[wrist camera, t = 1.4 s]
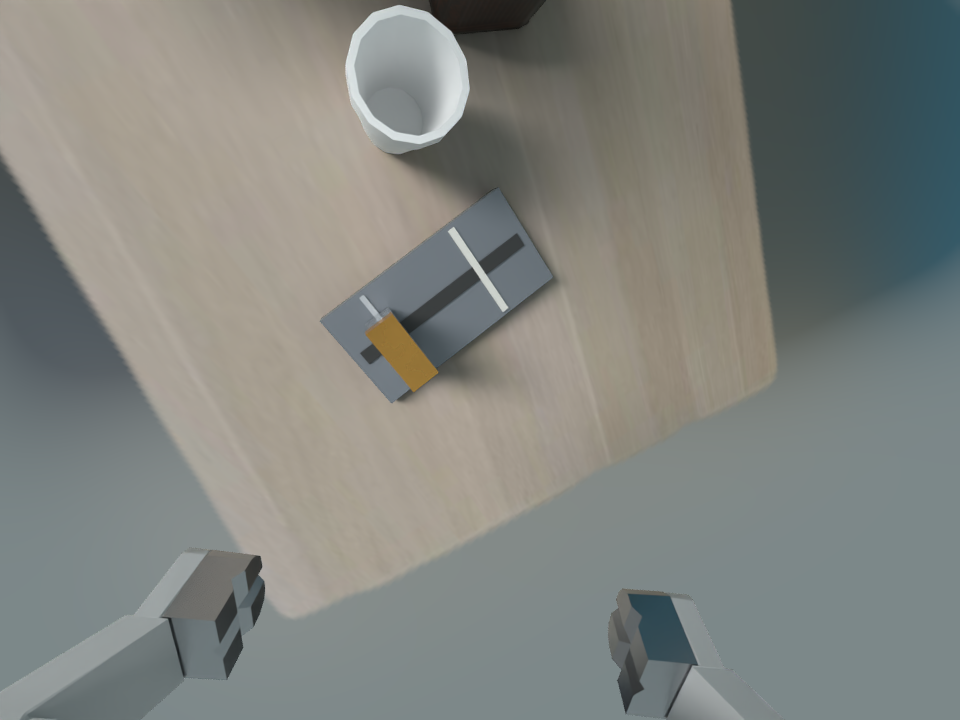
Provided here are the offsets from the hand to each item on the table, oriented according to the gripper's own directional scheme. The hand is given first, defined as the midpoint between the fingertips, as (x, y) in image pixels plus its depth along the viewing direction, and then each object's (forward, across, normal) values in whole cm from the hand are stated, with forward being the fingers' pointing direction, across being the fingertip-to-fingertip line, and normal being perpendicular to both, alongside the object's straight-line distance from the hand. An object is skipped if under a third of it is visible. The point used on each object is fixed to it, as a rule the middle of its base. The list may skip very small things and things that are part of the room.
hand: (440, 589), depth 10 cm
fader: (+39, +8, +10) cm, 41 cm away
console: (+43, +4, +6) cm, 44 cm away
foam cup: (+46, +10, -11) cm, 48 cm away
